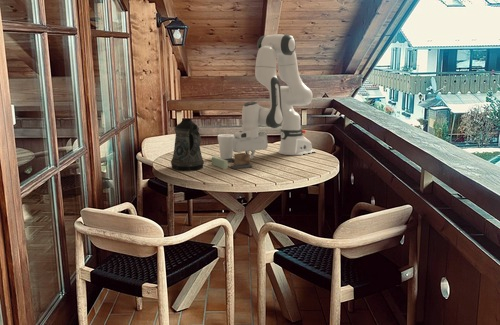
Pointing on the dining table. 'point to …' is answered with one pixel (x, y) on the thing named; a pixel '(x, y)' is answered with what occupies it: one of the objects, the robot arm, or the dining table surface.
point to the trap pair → (238, 165)
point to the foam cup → (226, 145)
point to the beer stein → (187, 147)
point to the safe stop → (220, 162)
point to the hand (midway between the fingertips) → (250, 158)
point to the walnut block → (241, 158)
